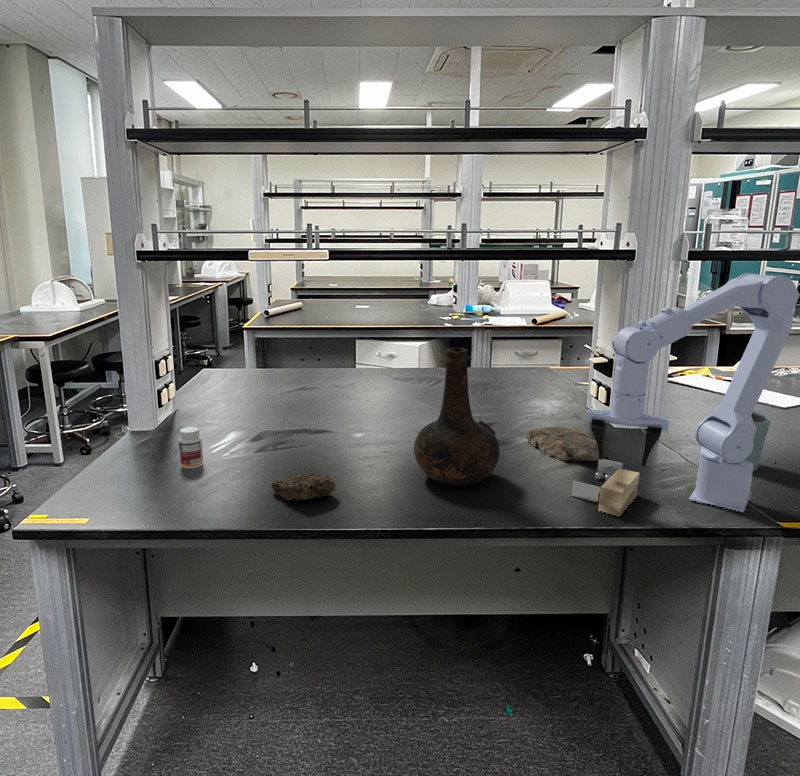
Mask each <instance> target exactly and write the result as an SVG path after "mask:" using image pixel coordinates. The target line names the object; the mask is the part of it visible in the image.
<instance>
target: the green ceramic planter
mask: <svg viewBox="0 0 800 776" xmlns="http://www.w3.org/2000/svg"><path fill="white" fill-rule="evenodd" d="M751 416H752V419H753V422H754V424H755V426H756V429H757V430H756V432H755V435H754V438H753V449H752V452H751V453H750V455H749V456H748V457H747V458H746V459H745V460H744V461H747V462H750V463H753V472H756V471H758V468H759V466H760V460H761V456H762V453H763V450H764V445H765V441H766V437H767V435H768V433H769V432H768V431H769V429H770V424H771V421H772V420H771V418H770V417H769V416H768V415H766V414H764V413H761V412H757V411H754V410H753V413H752V415H751ZM728 425H730V424H729V423H728Z"/></svg>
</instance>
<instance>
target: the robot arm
mask: <svg viewBox="0 0 800 776" xmlns="http://www.w3.org/2000/svg"><path fill="white" fill-rule="evenodd" d="M799 298H800V293H799V291H798V289H797V287H796V284H795V283H794V281H793V280H792V279H791V278H790V277H788V276H786V275H781V274H780V275H768V274H757V273H752V272H746V273H743V274H740V275H739V276H738V277H735V278H732V279H729V280H728V281H727V282H726V283H725V284H724V285H722V286H720V287H719V288H716V289H715V290H714V291H712V292H710V293H709V294H706V295H705V296H703V297H701V298H699V299H698V300H696V301H695V302H693V303H691V304H689V305H687V306H686V307H684V308H680V307H676V306H672V307H669V306H664V307H663V308H661V309H660V313H659V314H658V313H657V315H655V316H653V317H651V318H649V319H647V320H640V321H638V322H637V325H636V327H634V326H627V327H624V328H622V329H621V330H619V331H618V332H617V334H616V335H615V337H614V340H612V341H611V346H612V347H611V348H612V349H613V351H614V352H615V355H616V359H615V360H616V362H615V370H614V371H615V372H614V379H613V380H614V381H613V391H612V401H611V410H610V409H609V410H608V409H607V410H606V409H605V410H604V409H592V408H589V409H587V411H586V413H585V421H586V422H588V423H589V422H591V424H590V429H591V432H592V433H593V437H594V440H596V443H597V447H598V452H599V458H598V460H599V459H600V460H603V459H605V458H604V457H605V446H606V445H605V442H606V438H605V437H606V431H607V424H612V425H613V424H614V425H622V426H629V427H637V428H644V429H646V432H645V442H644V451H643V454H642V460H641V466H642V467H646V465H647V461H648V458H649V456H650V454H651V452H652V450H653V448H654V446H655V445H656V443H657V441H659V439H660V437H661V435H662V434H661V433H662V431H663V432H668V431H669V423H670V418H666V417H659V416H654V415H649V414H645V405H646V397H647V387H648V381H649V380H648V379H649V369H650V362H651V361H652V360H653V359H654V358H655V357H656V355H657V353H658V351H659V350H660V349H663V348H665V347H667V346H668V345H671V344H673V343H674V342H676V341H678V340H680V339H682V338H684V337H686V336H688V335H690V333H691V332H692V328H693V326H694V325H696V324H698V323H700V322H703V321H705V320H707V319H709V318H711V317H714V316H716V315H718V314H720V313H723V312H725V311H727V310H729V309H731V308H735V307H736V308H740V309H741V310H742V311H743V312H744V313H745V314H746V315H747V316H748V317H749V319H750V321H751V323H752V325H753V327H754V330H753V332H752V335H751V336H750V339H749V342H748V343H747V345H746V348H745V350H744V352H743V354H742V357H741V359H740V361H739V363H738V365H737V367H736V370H735V372H734V374H733V376H732V379H731V381H730V383H729V385H728V388H727V390H726V392H725V394H724V397H723V399H722V401H721V403H720V404H718V405H717V406H715V407H712V408H711V409H709V410H708V412H707V414H706V417H704V419H703V420H701V422H699V423H698V424H697V426H696V429H695V431H694V438H695V441H696V443H697V444H698V445H699V451H700V452H699V453H700V454H699V461H698V466H697V467H698V468H697V475H696V482H695V489H694V490H693V492H692V493H691V495H690V496H689V501H691V502H694V501H696V502H695V503H699V502H700V503H699V504H703V503H705V504H704V505H707V504H711V505H710V506H712V505H716V506H720V507H725V508H728V509H727V510H729V509H732V510H731V511H733V510H736V511H735V512H738V511H740V512H739V513H745V509H746V508H745V507H747V505H748V501H750V500H751V499H750V498H751V496H752V495H751V493H752V492H751V485H752V478H753V472H754V471H753V463H750V462H747V461H744V460H745V459H746V458H747V457H748V456H749V455H750V453H751V452H752V449H753V438H754V435H755V432H756V430H757V429H756V426H755V424H754V422H753V419H752V416H751V415H752V413H753V411H754V410H755V409H756V406H757V404H758V401H759V399H760V397H761V395H762V392H763V390H764V389H765V387H766V384H767V382H768V380H769V378H770V376H771V373H772V372H773V370H774V367H775V365H776V363H777V360H778V359H779V356H780V354H781V352H782V350H783V348H784V346H785V343H786V341H787V339H788V337H789V335H790V332H791V330H792V327H793V323H794V322H793V320H794V309H795V307H796V305H797V302H798V300H799ZM728 423H729V424H730V425H728ZM706 503H707V504H706ZM716 506H715V507H716ZM720 507H719V508H720ZM725 508H724V509H725Z"/></svg>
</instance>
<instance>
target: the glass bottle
mask: <svg viewBox="0 0 800 776" xmlns="http://www.w3.org/2000/svg"><path fill="white" fill-rule="evenodd" d="M445 351H446V352H445V353H446V355H445V356H443V357H442V361H443V362H445V374H444V385H443V386H444V387H443V395H442V402H441V407H440V412H439V415H438V418H437V419H436V420H435V421H432V422H430V423H428V424H427V425H425V426H424V427H423V428H422V429H421V430H420V431H419V432H418V434H417V436H416V437H415V440H414V445H413V453H414V458H415V460H416V463H417V465H418V466H419V468H420V469H421V471H423V472H424V474H425V475H427V477H429V478H430V479H432V480H433V481H436V482H438V483H440V484H443V485H447V486H448V485H450V486H469V485H473V484H476V483H478V482H481V481H483V480H485V479H486V478H487V477H489V476H490V474H492V472H493V471H494V470H495V468H496V466H497V464H498V462H499V460H500V453H501V452H500V451H501V450H500V444H499V441H498V438H497V437H496V431H494V429H493V428H491V426H489V425H488V424H487V423H485V422H484V421H483V420H478V422H477V421H475V419H474V417H473V414H472V410H471V403H470V396H469V382H468V379H469V378H468V377H469V375H468V362H470V361H471V360H473V359H472V358H471V357H470V356H468V353H469V350H468V349H467V348H463V347H452V348H447V349H446V350H445Z"/></svg>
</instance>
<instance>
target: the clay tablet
mask: <svg viewBox="0 0 800 776" xmlns="http://www.w3.org/2000/svg"><path fill="white" fill-rule="evenodd" d="M526 433H527V434H526V436H525V438H526V440H527V441H528V443H530V446H532V447H533V446H534V447H533V448H535V447H536V448H538V450H540V451H541V453H543V455H545V454H546V455H545V456H547V455H549V456H554V457H553V458H555V457H556V459H557V458H558V459H557V460H559V459H560V460H559V461H563V462H569V461H571V460H572V461H571V462H579V461H578V460H581V461H580V462H583V461H584V460H585V461H587V462H589V461H593V462H596V461H598V460H599V452H598V447H597V443H596V439H592V438H591V437H588V435H587V433H586V432H585V431H584V430H582V429H580V428H577V427H572V426H571V427H570V426H564V425H561V426H559V425H558V426H557V425H556V426H545V427H541V428H538V427H537V428H533V429H528V430H527V432H526ZM549 456H548V457H549ZM585 461H584V462H585Z"/></svg>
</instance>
